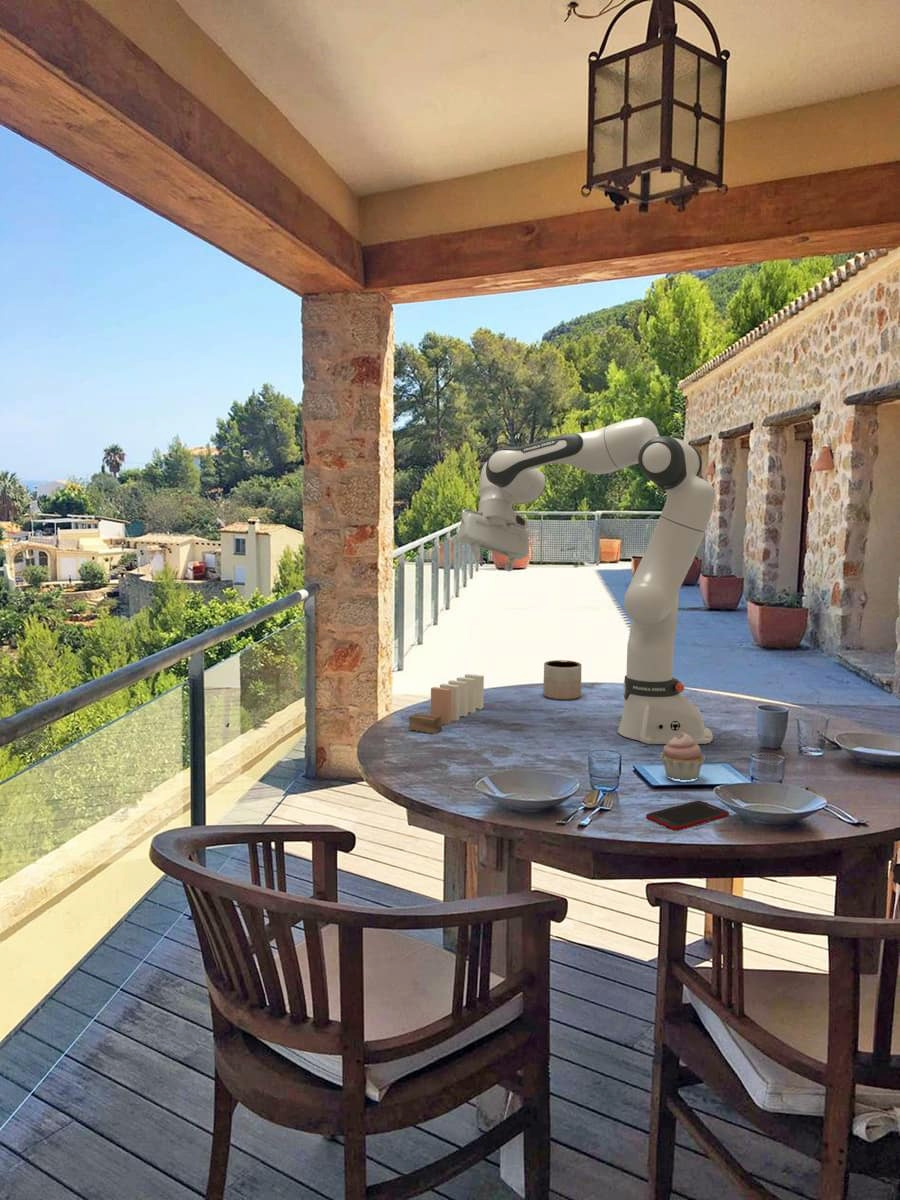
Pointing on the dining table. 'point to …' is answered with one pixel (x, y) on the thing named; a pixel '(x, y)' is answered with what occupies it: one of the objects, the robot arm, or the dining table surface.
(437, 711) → the domino
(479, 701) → the domino
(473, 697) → the domino
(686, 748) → the cupcake
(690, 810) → the cell phone
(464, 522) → the robot arm
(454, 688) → the domino
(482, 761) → the dining table surface
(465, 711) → the domino
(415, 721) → the block
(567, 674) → the planter
